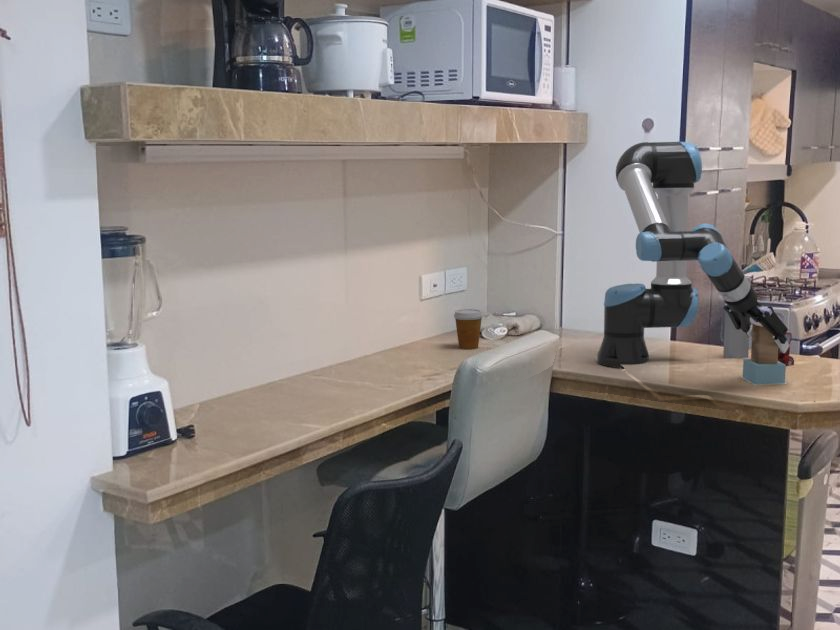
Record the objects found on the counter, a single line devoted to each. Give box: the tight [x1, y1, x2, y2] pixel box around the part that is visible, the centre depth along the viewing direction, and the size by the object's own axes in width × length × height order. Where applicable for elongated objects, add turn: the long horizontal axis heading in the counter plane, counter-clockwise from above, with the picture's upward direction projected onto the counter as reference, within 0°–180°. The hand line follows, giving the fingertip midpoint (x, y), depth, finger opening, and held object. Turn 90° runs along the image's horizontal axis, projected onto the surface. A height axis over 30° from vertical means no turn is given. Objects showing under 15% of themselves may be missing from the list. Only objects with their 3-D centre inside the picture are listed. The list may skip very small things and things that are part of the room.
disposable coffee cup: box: [453, 308, 484, 350], centre depth 296 cm, size 10×10×12 cm
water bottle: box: [719, 276, 752, 359], centre depth 272 cm, size 9×8×25 cm
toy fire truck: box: [778, 331, 795, 367], centre depth 260 cm, size 7×12×10 cm, turn 119°
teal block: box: [742, 358, 787, 385], centre depth 242 cm, size 8×8×5 cm
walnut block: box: [750, 322, 778, 364], centre depth 241 cm, size 5×5×10 cm
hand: (773, 346), depth 243 cm, fingers open, 7 cm apart
